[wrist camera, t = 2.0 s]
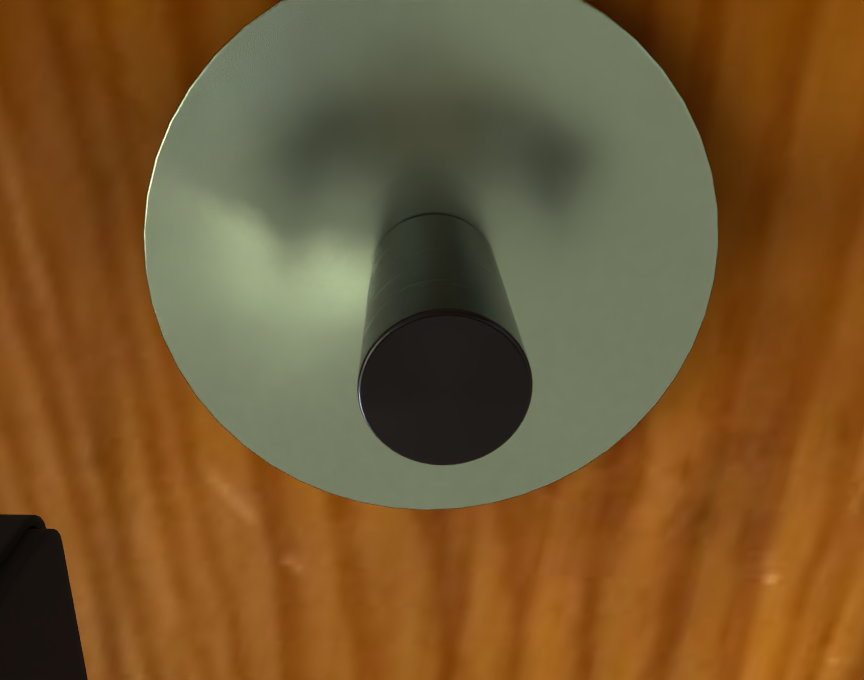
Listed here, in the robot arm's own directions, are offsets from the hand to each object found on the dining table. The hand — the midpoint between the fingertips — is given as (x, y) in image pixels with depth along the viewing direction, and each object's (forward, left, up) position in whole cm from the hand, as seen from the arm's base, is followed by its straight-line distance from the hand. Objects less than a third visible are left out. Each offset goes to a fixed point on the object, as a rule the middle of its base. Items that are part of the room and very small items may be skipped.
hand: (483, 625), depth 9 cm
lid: (0, 0, -12) cm, 12 cm away
